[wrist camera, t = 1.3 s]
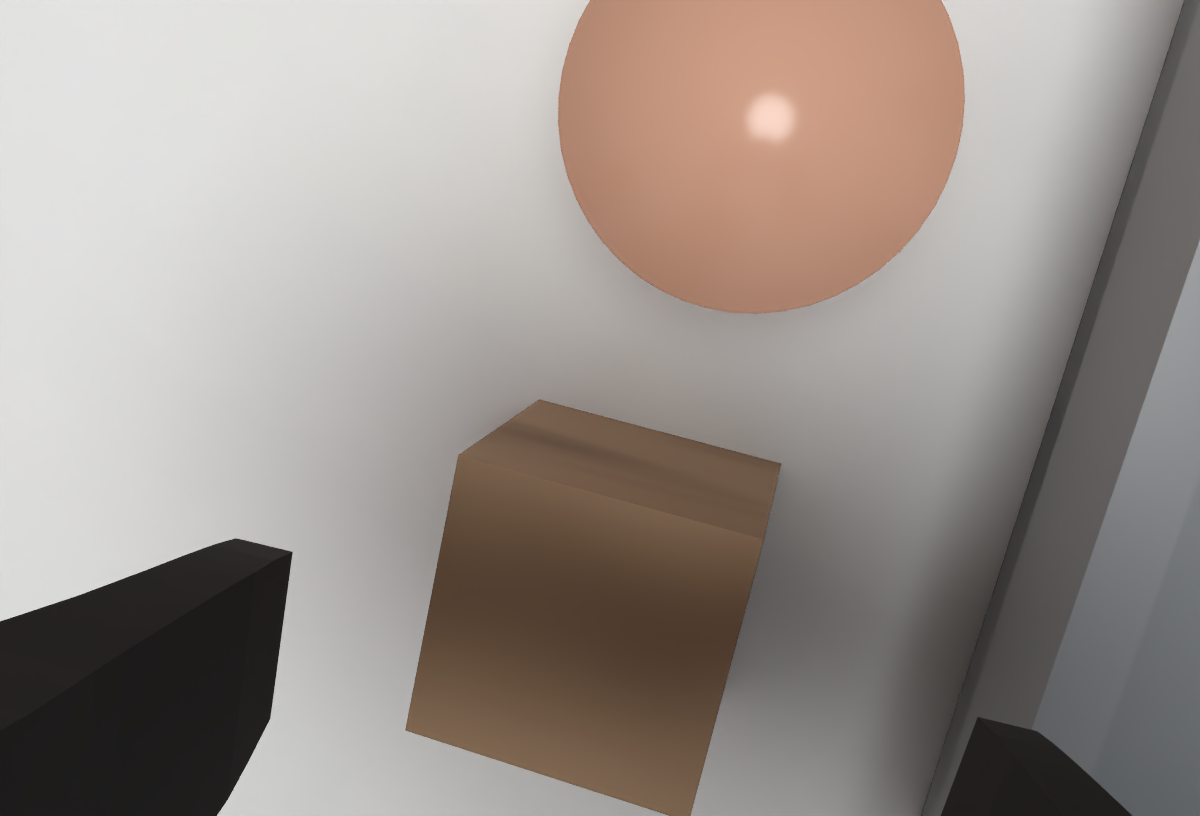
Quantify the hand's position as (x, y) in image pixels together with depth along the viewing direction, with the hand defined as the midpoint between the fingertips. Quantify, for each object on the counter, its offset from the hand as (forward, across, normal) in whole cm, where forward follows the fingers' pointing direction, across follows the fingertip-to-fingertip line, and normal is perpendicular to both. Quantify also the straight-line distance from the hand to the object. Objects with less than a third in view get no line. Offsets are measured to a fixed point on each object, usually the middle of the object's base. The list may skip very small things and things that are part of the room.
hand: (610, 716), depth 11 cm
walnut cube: (+11, 0, +3) cm, 11 cm away
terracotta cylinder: (+11, -1, -5) cm, 13 cm away
